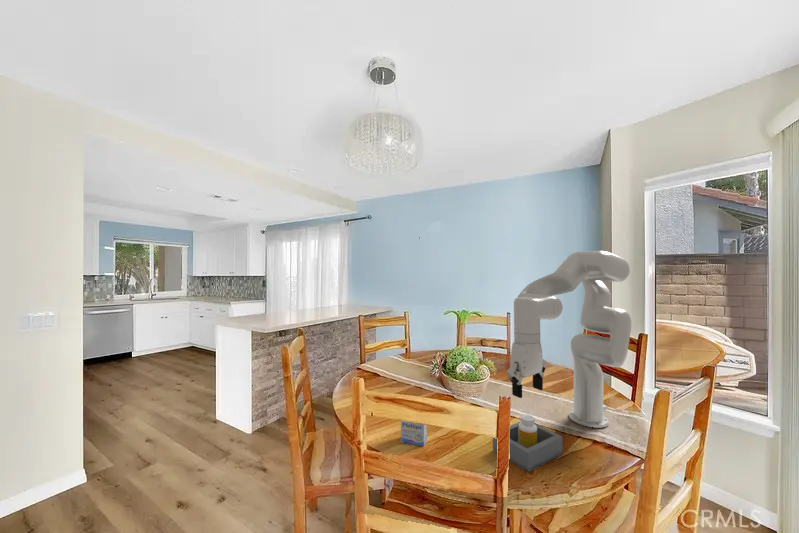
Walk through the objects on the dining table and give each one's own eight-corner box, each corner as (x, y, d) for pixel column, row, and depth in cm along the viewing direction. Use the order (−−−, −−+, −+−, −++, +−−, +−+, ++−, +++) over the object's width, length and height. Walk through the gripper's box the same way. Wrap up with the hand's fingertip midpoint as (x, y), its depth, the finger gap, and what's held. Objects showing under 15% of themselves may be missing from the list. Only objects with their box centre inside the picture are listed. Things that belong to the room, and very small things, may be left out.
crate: (526, 435, 112) (526, 419, 112) (562, 454, 101) (562, 436, 101) (492, 449, 104) (492, 432, 104) (528, 472, 93) (528, 453, 93)
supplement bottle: (538, 454, 99) (538, 422, 99) (519, 452, 100) (519, 421, 100) (535, 444, 105) (535, 414, 104) (517, 442, 106) (517, 412, 105)
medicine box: (400, 443, 108) (400, 417, 108) (404, 436, 112) (404, 410, 112) (424, 447, 106) (423, 420, 106) (427, 439, 110) (426, 413, 110)
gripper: (534, 331, 109) (534, 382, 110) (498, 339, 100) (498, 395, 101) (555, 335, 103) (555, 390, 104) (518, 344, 94) (519, 404, 94)
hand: (527, 392), depth 102 cm, fingers open, 9 cm apart
